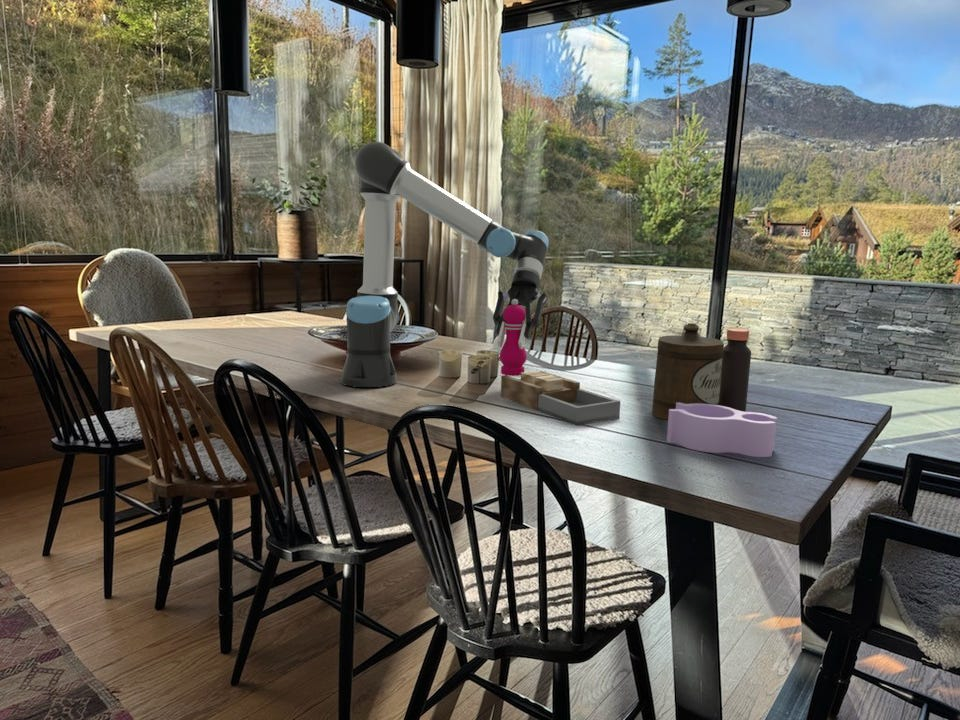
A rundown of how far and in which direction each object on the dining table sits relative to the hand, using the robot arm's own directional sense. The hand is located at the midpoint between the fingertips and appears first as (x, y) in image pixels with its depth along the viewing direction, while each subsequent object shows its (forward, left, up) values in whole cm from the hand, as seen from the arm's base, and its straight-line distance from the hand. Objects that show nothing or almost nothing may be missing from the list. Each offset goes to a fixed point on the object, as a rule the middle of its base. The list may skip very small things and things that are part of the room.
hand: (509, 345), depth 176 cm
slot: (+10, +3, -13) cm, 16 cm away
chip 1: (+8, +3, -9) cm, 12 cm away
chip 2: (+14, +3, -9) cm, 17 cm away
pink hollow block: (+57, +13, -13) cm, 60 cm away
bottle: (+41, +38, -13) cm, 57 cm away
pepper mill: (-2, +3, -8) cm, 9 cm away
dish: (+25, +3, -13) cm, 28 cm away
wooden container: (+38, +25, -13) cm, 47 cm away
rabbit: (-43, +31, -13) cm, 55 cm away
